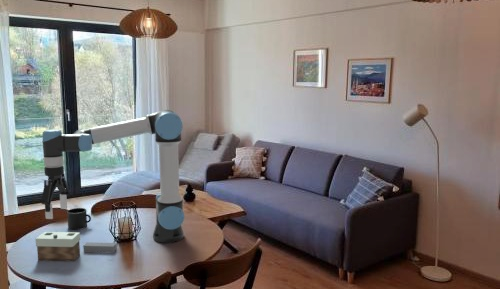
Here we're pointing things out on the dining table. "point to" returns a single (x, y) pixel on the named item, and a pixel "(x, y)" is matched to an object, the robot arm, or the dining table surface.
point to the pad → (100, 247)
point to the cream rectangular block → (58, 239)
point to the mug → (77, 218)
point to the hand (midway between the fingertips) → (56, 213)
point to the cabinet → (58, 253)
